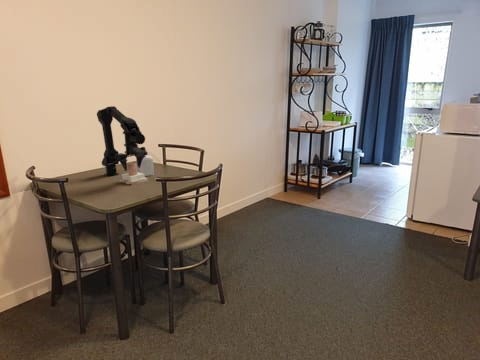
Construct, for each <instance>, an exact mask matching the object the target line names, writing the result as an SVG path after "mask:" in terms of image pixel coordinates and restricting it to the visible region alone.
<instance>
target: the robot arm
mask: <svg viewBox="0 0 480 360" xmlns="http://www.w3.org/2000/svg"><path fill="white" fill-rule="evenodd" d="M96 117H97V119H98V120H97V121H98V122H99V123H100V124H101V127H102V133H103V139H104V141H103V142H104V147H105V150H104V153H103V158H102V159H101V160H102V161H101V165H102V166H103V167H105V173H104V174H103V175H105V176H108V177H112V176H117V175H120V174H119V172H117V165H119V163H120V164H121V166H122V168H123V169H124V171H125V172H127V171H128V163H127V162H128V159H127V158H129V157H135V160H137V165H138V168H140V166H141V163H142V160H143V158H144V157H146V156H149V155H148V151H147V149H146V147H145V146H141V147H139V145H143V144H144V143H145V141H146V136H145V135H144V134H142V131H141V130H140V128H139V126H138V124H137V121H136V120H135V119H133V118H132V117H128V116H126V115H125V114H123V112H121V111H120V110H119V109H117V107H116V106H112V105H111V106H107V107H105V108H102V109H98V111H97V112H96ZM113 119H115V120H116V121H117V122H118V123H119V124H120V127H121V129H122V130H123V132H122V135H124V143H123V146H124V147H125V151H124V153H122V152H120V153H119V151H118V150H117V149H116V148H115V144H114V137H113V131H112V122H113Z"/></svg>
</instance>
